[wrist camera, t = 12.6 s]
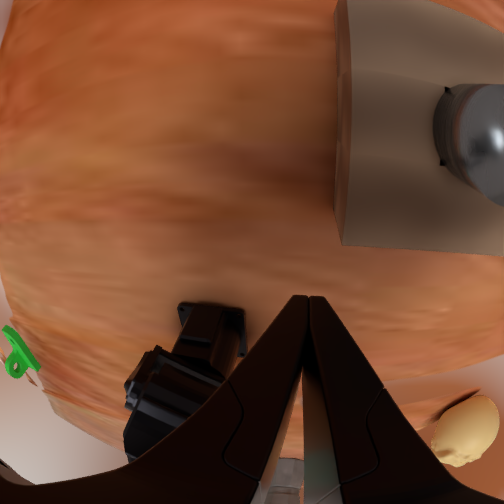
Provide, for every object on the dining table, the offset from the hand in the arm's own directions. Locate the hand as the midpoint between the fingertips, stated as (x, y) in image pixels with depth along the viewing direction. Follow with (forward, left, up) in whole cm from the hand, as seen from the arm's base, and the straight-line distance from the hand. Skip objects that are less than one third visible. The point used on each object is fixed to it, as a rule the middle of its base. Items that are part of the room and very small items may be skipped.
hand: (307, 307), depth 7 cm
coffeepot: (-59, -2, -13) cm, 61 cm away
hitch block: (+5, -9, -13) cm, 17 cm away
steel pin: (+5, -9, -12) cm, 16 cm away
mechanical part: (-35, +60, -13) cm, 71 cm away
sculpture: (-33, -30, -13) cm, 47 cm away
